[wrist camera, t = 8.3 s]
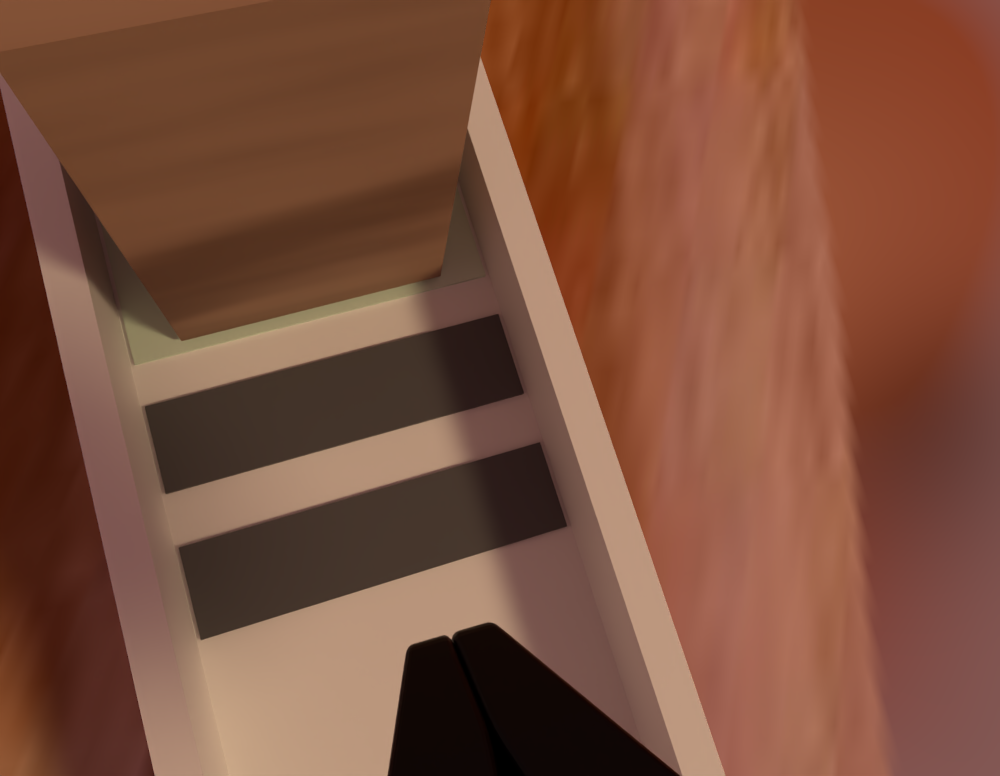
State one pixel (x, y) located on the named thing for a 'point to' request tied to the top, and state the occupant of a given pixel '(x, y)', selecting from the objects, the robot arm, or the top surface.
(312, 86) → the walnut block
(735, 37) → the top surface
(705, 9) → the top surface
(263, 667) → the box
